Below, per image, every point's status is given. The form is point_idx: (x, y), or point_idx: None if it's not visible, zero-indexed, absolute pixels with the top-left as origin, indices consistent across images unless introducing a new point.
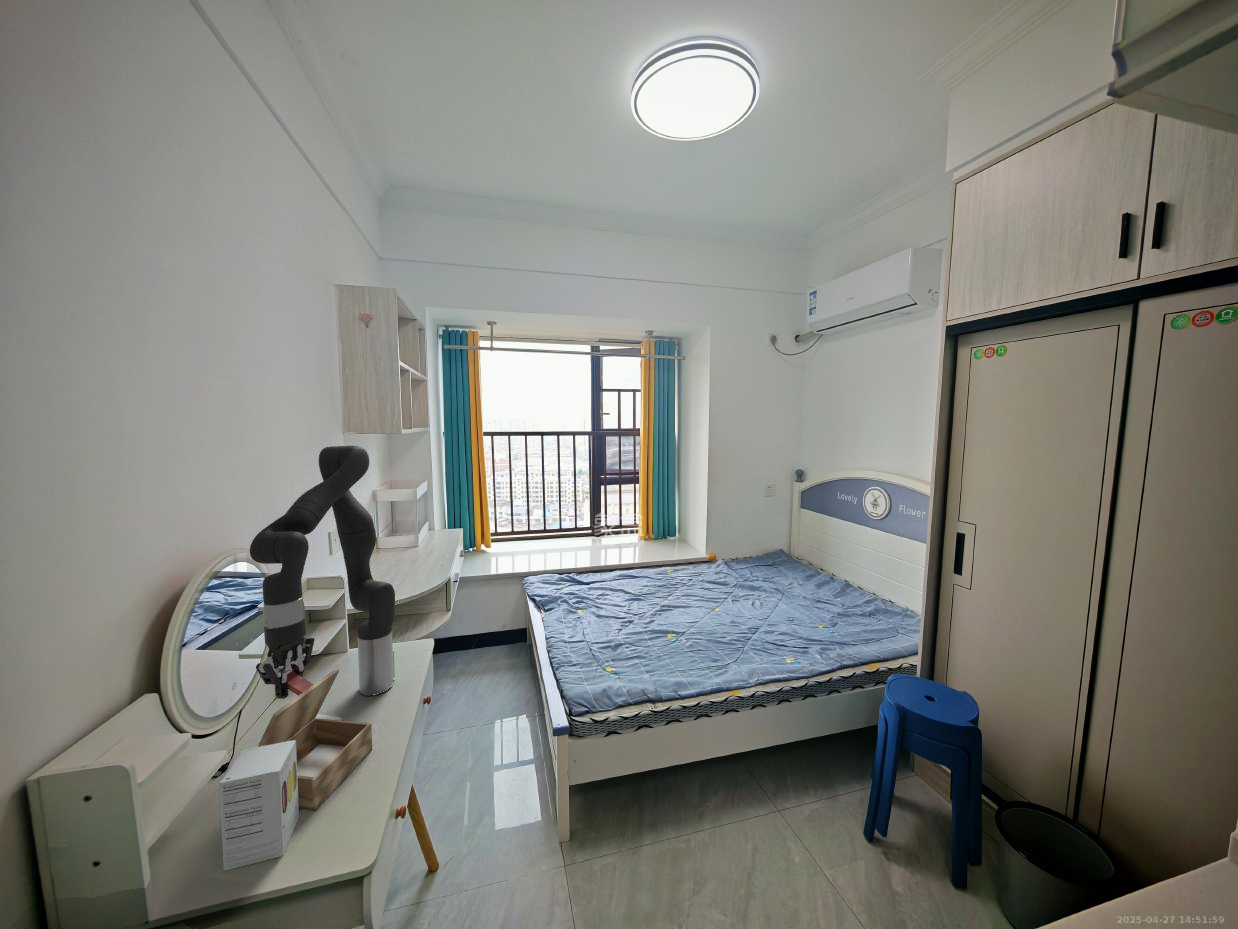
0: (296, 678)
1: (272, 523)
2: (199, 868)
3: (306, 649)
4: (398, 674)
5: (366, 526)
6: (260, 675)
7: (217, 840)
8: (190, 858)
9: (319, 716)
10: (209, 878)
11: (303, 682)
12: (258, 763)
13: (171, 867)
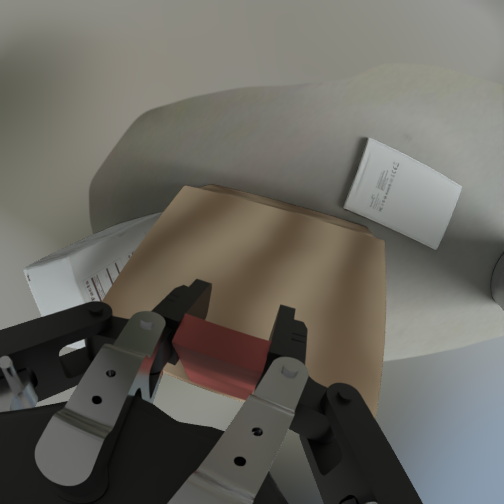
0: (230, 379)
1: None
2: (116, 191)
3: (332, 500)
4: None
5: None
6: (24, 324)
7: (149, 182)
8: (127, 167)
9: (451, 199)
10: (107, 214)
11: (231, 388)
12: (53, 311)
13: (118, 154)
